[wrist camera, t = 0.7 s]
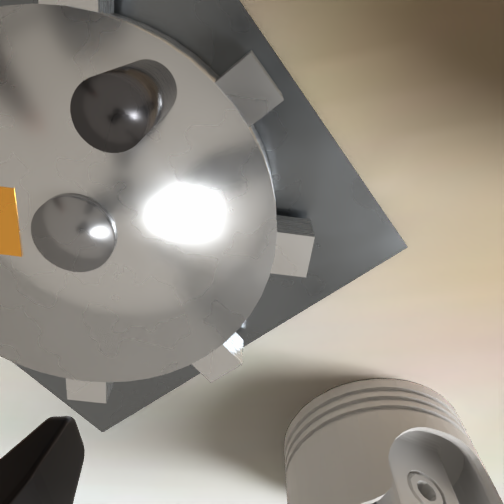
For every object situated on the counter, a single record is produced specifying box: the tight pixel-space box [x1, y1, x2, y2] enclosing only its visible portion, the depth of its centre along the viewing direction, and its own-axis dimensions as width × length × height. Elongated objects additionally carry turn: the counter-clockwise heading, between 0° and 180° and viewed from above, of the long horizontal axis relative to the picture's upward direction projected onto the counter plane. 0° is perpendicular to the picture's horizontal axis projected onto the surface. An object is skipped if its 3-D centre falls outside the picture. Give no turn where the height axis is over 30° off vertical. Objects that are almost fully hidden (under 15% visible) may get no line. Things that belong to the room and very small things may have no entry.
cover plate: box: [0, 0, 407, 432], centre depth 19 cm, size 19×19×1 cm
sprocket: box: [0, 0, 315, 403], centre depth 16 cm, size 18×18×6 cm
